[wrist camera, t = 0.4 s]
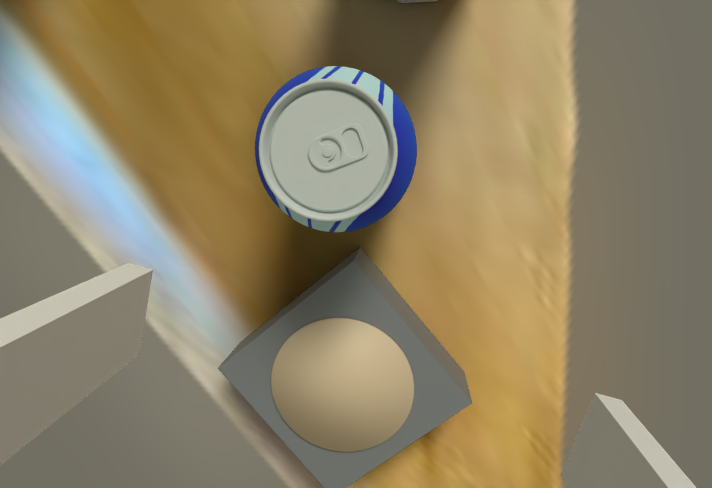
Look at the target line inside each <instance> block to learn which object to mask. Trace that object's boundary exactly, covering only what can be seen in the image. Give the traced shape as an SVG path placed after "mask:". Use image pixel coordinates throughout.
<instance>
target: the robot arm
mask: <svg viewBox="0 0 712 488" xmlns="http://www.w3.org/2000/svg"><path fill="white" fill-rule="evenodd" d="M152 272H153V270H151V269H148V268H144V267H141V266H137V265H134V264H130V263H127V264H125V265H122V266H120V267H118V268H115V269H113V270H111V271H108V272H106V273H104V274H102V275H99V276H97V277H95V278H93V279H90V280H88V281H86V282H83V283H81V284H79V285H77V286H74V287H72V288H70V289H67V290H65V291H63V292H61V293H58V294H56V295H54V296H51V297H49V298H47V299H45V300H42V301H40V302H38V303H36V304H33V305H31V306H28V307H26V308H24V309H22V310H19V311H17V312H15V313H12V314H10V315H8V316H6V317H3V318H1V319H0V465H1V464H3V463H4V462H5V461H6V460H8V459H9V458H10V457H11V456H13V455H14V454H15V453H16V452H18V451H19V450H20V449H21V448H23V447H24V446H25V445H26V444H27V443H29V442H30V441H31V440H32V439H34V438H35V437H36V436H37V435H38V434H40V433H41V432H42V431H44V430H45V429H46V428H47V427H48V426H50V425H51V424H52V423H54V422H55V421H56V420H57V419H59V418H60V417H61V416H62V415H64V414H65V413H66V412H67V411H69V410H70V409H71V408H72V407H74V406H75V405H76V404H77V403H79V402H80V401H81V400H82V399H84V398H85V397H86V396H87V395H89V394H90V393H91V392H92V391H94V390H95V389H96V388H97V387H98V386H100V385H101V384H102V383H104V382H105V381H106V380H107V379H109V378H110V377H111V376H112V375H114V374H115V373H116V372H117V371H118V370H120V369H121V368H122V367H123V366H125V365H126V364H127V363H129V362H130V361H131V360H132V359H134V358H135V357H136V356H137V355H139V352H140V346H141V340H142V334H143V327H144V322H145V315H146V309H147V303H148V297H149V290H150V284H151V278H152ZM561 475H562V477H563V479H564V481H565V483H566V486H567V488H696V487H695V486H694V484H693V483H692V482H691V481H690V480H689V479H688V477H687V476H686V475H685V474H684V473H683V472H682V470H681V469H680V468H679V467H678V466H677V465H676V463H675V462H674V461H673V460H672V459H671V458H670V457H669V455H668V454H667V453H666V452H665V451H664V449H663V448H662V447H661V446H660V445H659V443H658V442H657V441H656V440H655V439H654V438H653V436H652V435H651V434H650V433H649V432H648V431H647V429H646V428H645V427H644V426H643V425H642V423H641V422H640V421H639V420H638V419H637V418H636V416H635V415H634V414H633V413H632V412H631V411H630V409H629V408H628V407H627V406H626V405H625V403H624V402H623V401H622V400H619V399H615V398H612V397H608V396H604V395H601V394H597V393H595V394H594V396H593V399H592V401H591V404H590V406H589V408H588V411H587V413H586V416H585V418H584V420H583V423H582V425H581V428H580V430H579V433H578V435H577V438H576V440H575V442H574V445H573V447H572V450H571V452H570V454H569V457H568V459H567V461H566V464H565V466H564V469H563V471H562V473H561Z"/></svg>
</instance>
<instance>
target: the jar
mask: <svg viewBox="0 0 712 488" xmlns="http://www.w3.org/2000/svg"><path fill="white" fill-rule="evenodd" d="M396 1H398V2H400V3H412V2H431V1H437V0H396Z"/></svg>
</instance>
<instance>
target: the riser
mask: <svg viewBox="0 0 712 488" xmlns="http://www.w3.org/2000/svg"><path fill="white" fill-rule="evenodd" d="M218 369H219V370H220V371H221V372H222V374H223V375H224V376H225V377H226V378H227V379H228V380H229V381H230V383H231V384H232V385H233V386H234V387H235V388H236V389H237V390H238V392H239V393H240V394H241V395H242V396H243V397H244V398H245V399H246V401H247V402H248V403H249V404H250V405H251V406H252V407H253V408H254V410H255V411H256V412H257V413H258V414H259V415H260V416H261V417H262V419H263V420H264V421H265V422H266V423H267V424H268V425H269V426H270V428H271V429H272V430H273V431H274V432H275V433H276V434H277V435H278V436H279V438H280V439H281V440H282V441H283V442H284V443H285V444H286V445H287V447H288V448H289V449H290V450H291V451H292V452H293V453H294V454H295V456H296V457H297V458H298V459H299V460H300V461H301V462H302V463H303V465H304V466H305V467H306V468H307V469H308V470H309V471H310V472H311V474H312V475H313V476H314V477H315V478H316V479H317V480H318V481H319V483H320V484H321V485H322V486H323V487H324V488H345V487H347V486H348V485H350V484H351V483H353V482H354V481H356V480H357V479H359V478H360V477H362V476H363V475H365V474H366V473H368V472H369V471H371V470H372V469H374V468H375V467H377V466H378V465H380V464H381V463H383V462H384V461H386V460H387V459H389V458H390V457H392V456H393V455H395V454H396V453H398V452H399V451H401V450H402V449H404V448H405V447H407V446H408V445H410V444H411V443H413V442H414V441H416V440H418V439H419V438H421V437H422V436H424V435H425V434H427V433H428V432H430V431H431V430H433V429H434V428H436V427H437V426H439V425H440V424H442V423H443V422H445V421H446V420H448V419H449V418H451V417H452V416H454V415H455V414H457V413H458V412H460V411H461V410H463V409H464V408H466V407H467V406H469V405H470V404H472V400H471V397H470V393H469V389H468V385H467V381H466V377H465V373H464V371H463V370H462V369H461V368H460V367H459V365H458V364H457V363H456V362H455V360H454V359H453V358H452V357H451V356H450V354H449V353H448V352H447V351H446V350H445V348H444V347H443V346H442V345H441V344H440V342H439V341H438V340H437V339H436V338H435V336H434V335H433V334H432V333H431V332H430V330H429V329H428V328H427V327H426V326H425V324H424V323H423V322H422V321H421V320H420V318H419V317H418V316H417V315H416V314H415V312H414V311H413V310H412V309H411V308H410V306H409V305H408V304H407V303H406V302H405V300H404V299H403V298H402V297H401V295H400V294H399V293H398V292H397V291H396V289H395V288H394V287H393V286H392V285H391V283H390V282H389V281H388V280H387V279H386V277H385V276H384V275H383V274H382V273H381V271H380V270H379V269H378V268H377V267H376V265H375V264H374V263H373V262H372V261H371V259H370V258H369V257H368V256H367V255H366V253H365V252H364V251H363V250H362V249H361V247H359V248H358V249H357V250H356V251H354V252H353V253H352V254H351V255H349V256H348V257H347V258H346V259H344V260H343V261H342V262H341V263H339V264H338V265H337V266H336V267H334V268H333V269H332V270H331V271H329V272H328V273H327V274H326V275H324V276H323V277H322V278H321V279H319V280H318V281H317V282H316V283H314V284H313V285H312V286H311V287H309V288H308V289H307V290H305V291H304V292H303V293H302V294H300V295H299V296H298V297H297V298H295V299H294V300H293V301H292V302H290V303H289V304H288V305H287V306H285V307H284V308H283V309H282V310H280V311H279V312H278V313H277V314H275V315H274V316H273V317H272V318H270V319H269V320H268V321H267V322H265V323H264V324H263V325H262V326H260V327H259V328H258V329H257V330H255V331H254V332H253V333H252V334H250V335H249V336H248V337H247V338H245V339H244V340H243V341H242V342H240V343H239V344H238V346H237V347H236V348H235V349H234V350H233V351H232V353H231V354H230V355H229V356H228V357H227V358H226V359H225V361H224V362H223V363H222V364H221V365H220V366H219V368H218Z"/></svg>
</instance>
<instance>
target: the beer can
mask: <svg viewBox="0 0 712 488" xmlns="http://www.w3.org/2000/svg"><path fill="white" fill-rule="evenodd" d="M255 156H256V164H257V168H258V172H259V175H260V178H261V181H262V183H263V185H264V187H265V189H266V191H267V193H268V194H269V196H270V197H271V199H272V200H273V201H274V203H275V204H276V205H277V206H278V207H279V208H280V209H281V210H282V211H283V212H284V213H285V214H287V215H288V216H289V217H291V218H292V219H294V220H295V221H297V222H299V223H301V224H302V225H305V226H307V227H310V228H313V229H316V230H321V231H326V232H347V231H352V230H357V229H360V228H363V227H366V226H368V225H370V224H372V223H374V222H376V221H378V220H379V219H381V218H382V217H384V216H385V215H386V214H387V213H389V212H390V211H391V210H392V209H393V208H394V207H395V206H396V205H397V203H398V202H399V201H400V200H401V198H402V197H403V195H404V194H405V192H406V190H407V188H408V186H409V184H410V182H411V179H412V176H413V173H414V169H415V164H416V156H417V144H416V136H415V130H414V127H413V123H412V121H411V118H410V116H409V113H408V111H407V110H406V108H405V106H404V104H403V103H402V101H401V100H400V99H399V97H398V96H397V95H396V94H395V93H394V92H393V91H392V90H391V89H390V88H389V87H388V86H387V85H386V84H385V83H383V82H382V81H381V80H379V79H378V78H376V77H374V76H372V75H370V74H368V73H366V72H363V71H361V70H357V69H354V68H349V67H342V66H328V67H320V68H316V69H312V70H309V71H307V72H304V73H302V74H300V75H298V76H296V77H295V78H293V79H291V80H290V81H289V82H287V83H286V84H285V85H283V86H282V87H281V88H280V89H279V90H278V91H277V92H276V94H275V95H274V96H273V97H272V98H271V100H270V101H269V103H268V104H267V106H266V108H265V110H264V112H263V114H262V116H261V119H260V122H259V125H258V129H257V133H256V140H255Z"/></svg>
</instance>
